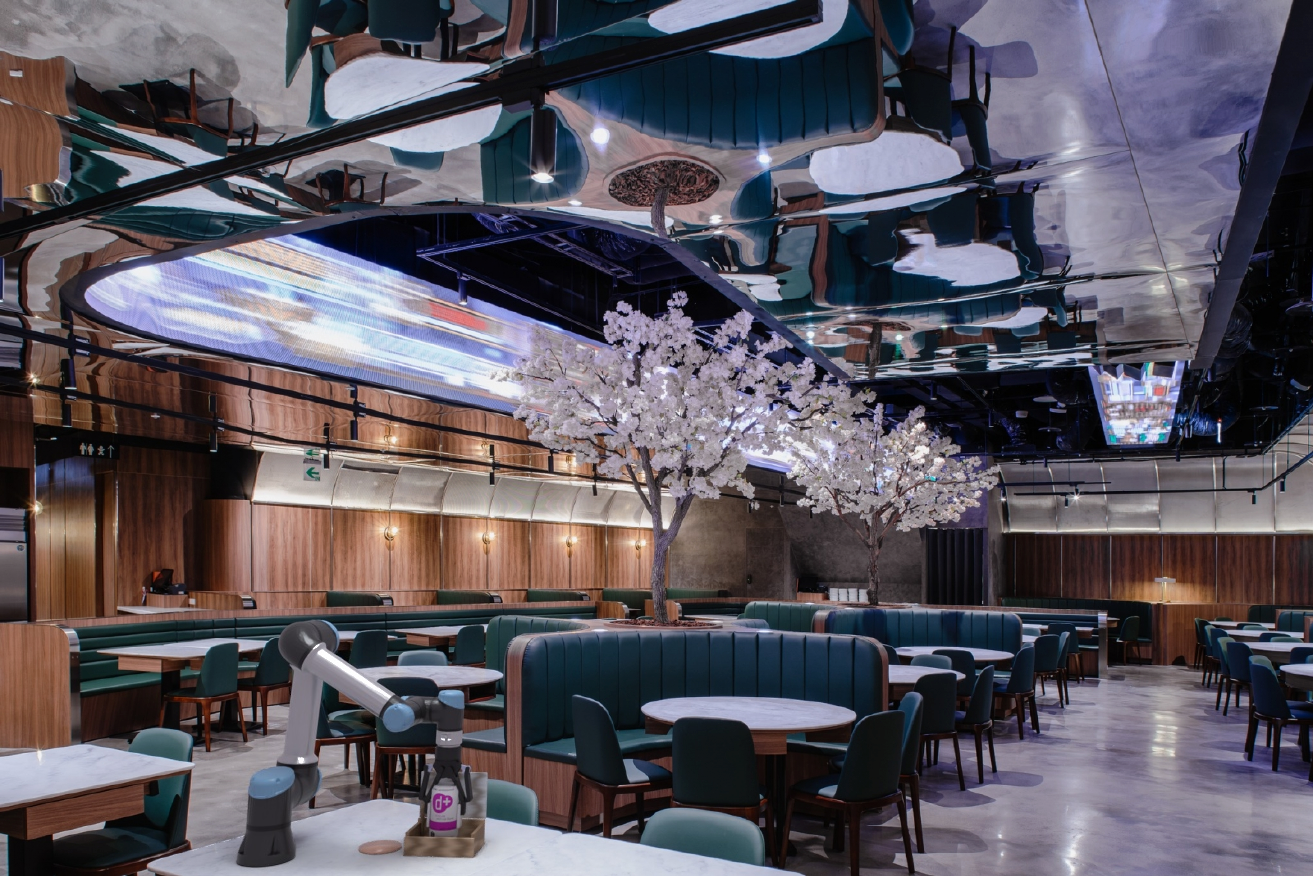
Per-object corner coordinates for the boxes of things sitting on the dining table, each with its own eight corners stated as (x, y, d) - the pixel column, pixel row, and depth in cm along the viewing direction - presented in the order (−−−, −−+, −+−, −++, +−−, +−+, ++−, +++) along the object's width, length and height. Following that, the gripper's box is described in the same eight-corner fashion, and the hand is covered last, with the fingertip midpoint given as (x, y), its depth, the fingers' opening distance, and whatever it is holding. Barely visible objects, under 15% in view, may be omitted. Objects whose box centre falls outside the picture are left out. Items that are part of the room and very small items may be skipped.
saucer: (352, 854, 253) (352, 851, 254) (367, 841, 265) (368, 839, 265) (393, 855, 253) (393, 853, 253) (407, 842, 265) (407, 840, 265)
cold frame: (403, 856, 252) (406, 782, 255) (419, 841, 266) (422, 771, 269) (472, 857, 251) (475, 783, 254) (485, 843, 265) (487, 772, 268)
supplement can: (450, 843, 254) (453, 788, 256) (423, 841, 255) (427, 786, 258) (462, 835, 262) (465, 782, 264) (436, 833, 263) (439, 780, 265)
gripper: (409, 746, 259) (404, 828, 256) (480, 748, 258) (476, 831, 255) (418, 741, 267) (412, 821, 263) (487, 743, 265) (482, 824, 262)
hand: (444, 826), depth 259 cm, fingers closed on supplement can, 8 cm apart
